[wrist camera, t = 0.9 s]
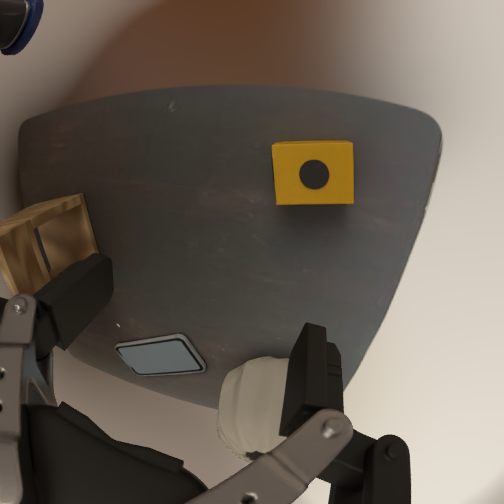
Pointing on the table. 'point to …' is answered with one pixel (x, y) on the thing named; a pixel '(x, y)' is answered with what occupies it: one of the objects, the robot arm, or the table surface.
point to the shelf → (44, 242)
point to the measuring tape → (313, 172)
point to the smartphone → (161, 356)
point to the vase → (252, 407)
